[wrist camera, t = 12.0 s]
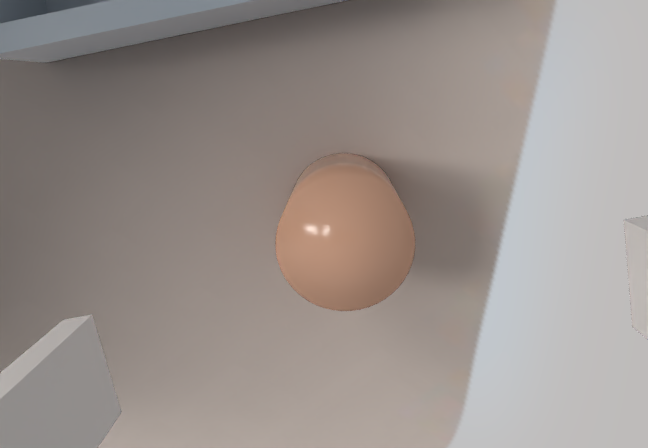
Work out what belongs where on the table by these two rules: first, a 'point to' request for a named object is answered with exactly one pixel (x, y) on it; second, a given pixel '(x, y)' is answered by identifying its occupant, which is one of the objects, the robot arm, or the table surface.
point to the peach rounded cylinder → (344, 234)
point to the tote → (119, 23)
